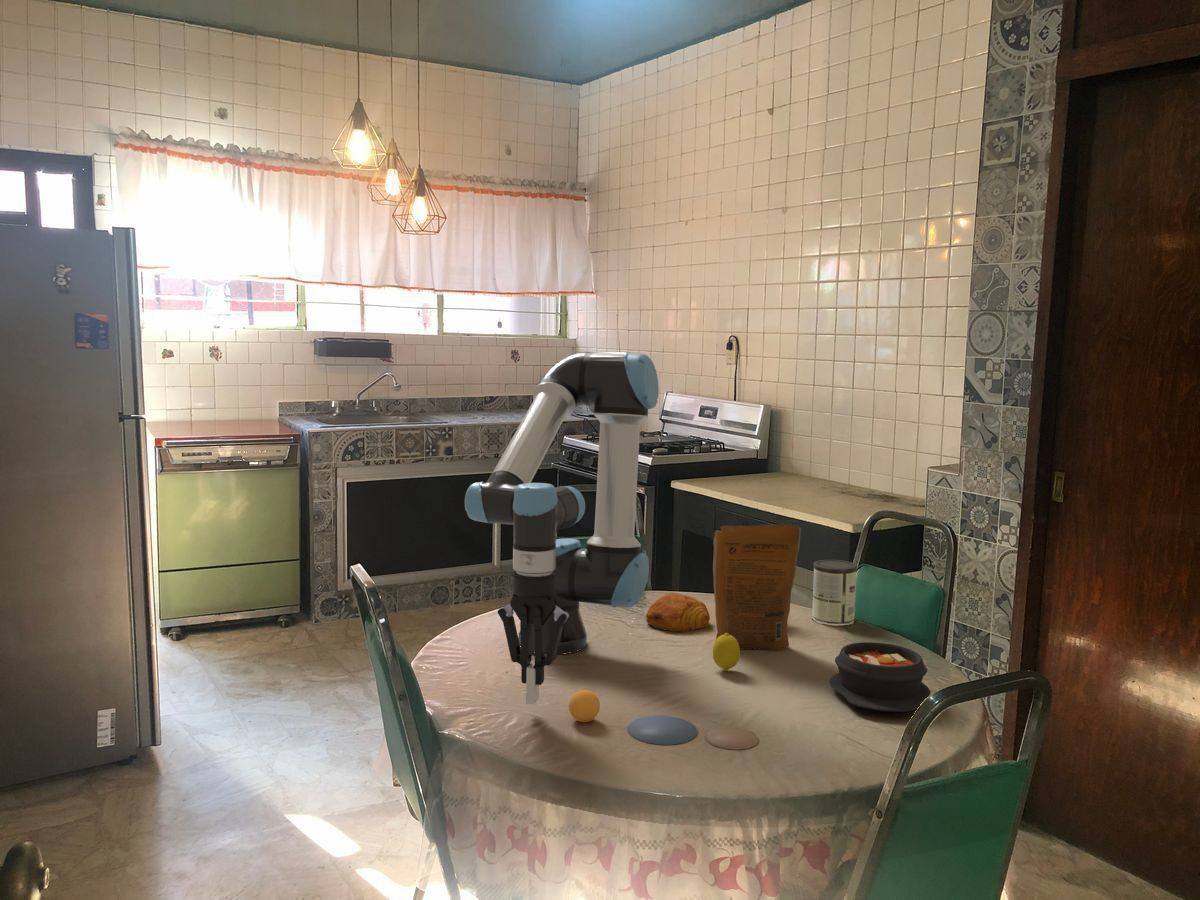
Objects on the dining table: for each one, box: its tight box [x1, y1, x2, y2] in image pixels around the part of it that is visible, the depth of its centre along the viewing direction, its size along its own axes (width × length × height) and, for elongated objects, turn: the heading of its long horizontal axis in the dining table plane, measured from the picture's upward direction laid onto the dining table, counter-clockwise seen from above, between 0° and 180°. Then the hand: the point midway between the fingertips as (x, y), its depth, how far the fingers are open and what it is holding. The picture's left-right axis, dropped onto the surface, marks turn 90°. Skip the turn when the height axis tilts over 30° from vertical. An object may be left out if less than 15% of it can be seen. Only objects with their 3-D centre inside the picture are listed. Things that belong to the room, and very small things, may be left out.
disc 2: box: [704, 726, 760, 751], centre depth 158 cm, size 9×9×1 cm
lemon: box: [712, 633, 741, 672], centre depth 190 cm, size 6×6×8 cm
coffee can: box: [811, 559, 858, 624], centre depth 227 cm, size 10×10×14 cm
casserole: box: [829, 641, 932, 713], centre depth 178 cm, size 25×19×8 cm
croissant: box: [644, 592, 711, 633], centre depth 223 cm, size 14×16×8 cm
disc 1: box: [627, 714, 698, 746], centre depth 161 cm, size 12×12×1 cm
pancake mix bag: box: [712, 524, 802, 651], centre depth 205 cm, size 7×19×28 cm, turn 87°
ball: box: [568, 689, 601, 723], centre depth 164 cm, size 6×6×6 cm
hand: (532, 701), depth 166 cm, fingers closed
